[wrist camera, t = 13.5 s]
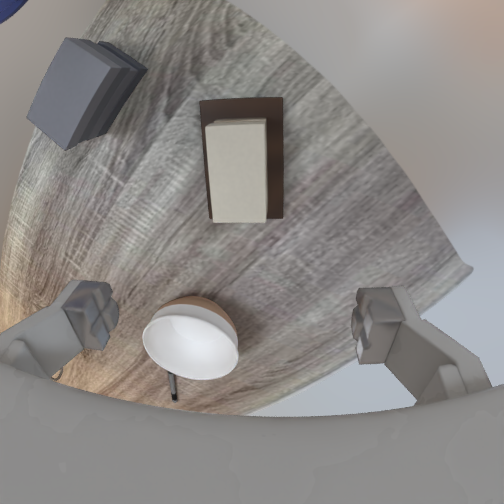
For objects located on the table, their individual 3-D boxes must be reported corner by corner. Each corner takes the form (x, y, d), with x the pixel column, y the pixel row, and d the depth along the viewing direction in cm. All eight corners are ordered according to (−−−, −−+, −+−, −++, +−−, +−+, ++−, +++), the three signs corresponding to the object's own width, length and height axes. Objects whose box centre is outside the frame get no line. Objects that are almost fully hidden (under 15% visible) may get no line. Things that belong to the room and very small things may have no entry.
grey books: (108, 42, 29) (65, 37, 21) (148, 69, 32) (111, 67, 23) (70, 105, 34) (26, 117, 25) (106, 133, 36) (65, 151, 28)
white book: (209, 123, 31) (204, 126, 28) (265, 121, 30) (264, 124, 28) (216, 214, 36) (213, 223, 34) (266, 214, 36) (266, 223, 34)
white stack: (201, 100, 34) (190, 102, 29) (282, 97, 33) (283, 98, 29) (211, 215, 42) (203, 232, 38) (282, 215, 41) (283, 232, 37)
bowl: (169, 347, 58) (159, 377, 51) (145, 284, 50) (128, 315, 43) (248, 348, 56) (244, 381, 49) (236, 281, 48) (229, 316, 41)
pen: (173, 366, 61) (172, 370, 60) (178, 401, 70) (177, 405, 69) (167, 364, 61) (166, 369, 60) (173, 400, 70) (172, 404, 69)
